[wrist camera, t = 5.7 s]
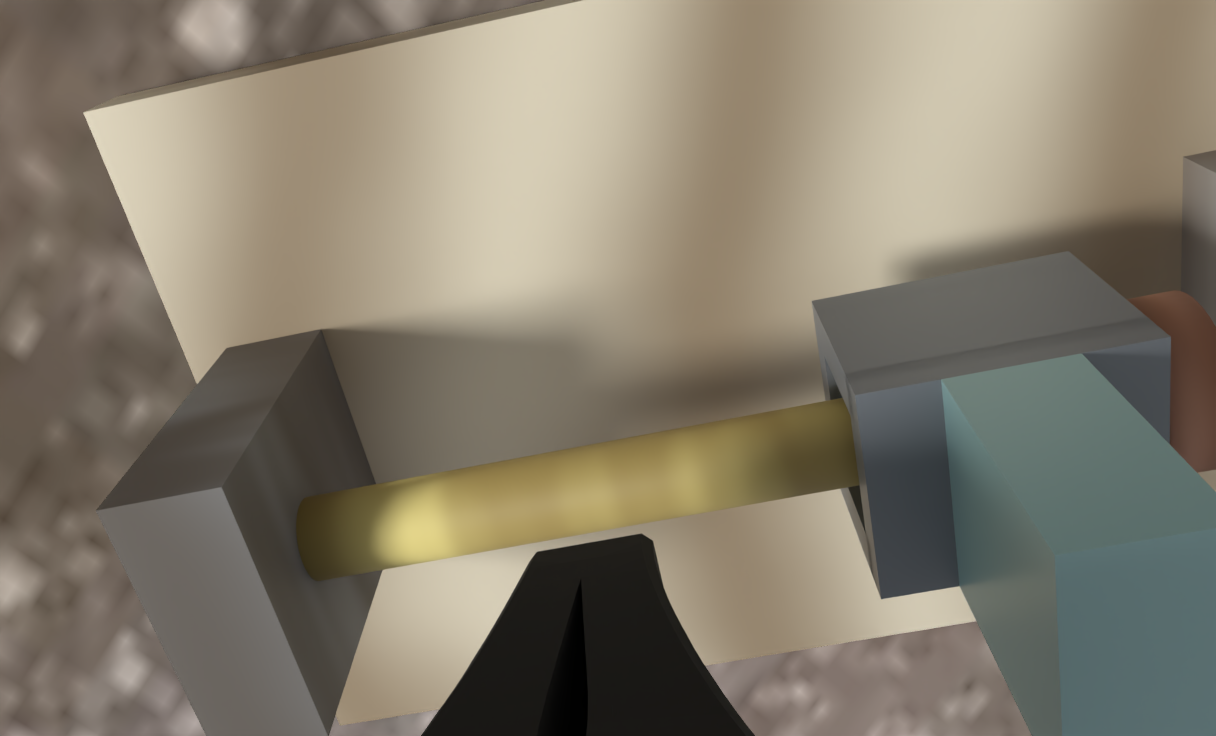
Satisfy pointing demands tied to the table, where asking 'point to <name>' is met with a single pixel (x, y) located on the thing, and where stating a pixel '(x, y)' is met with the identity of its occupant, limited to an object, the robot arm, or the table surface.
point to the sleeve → (1035, 486)
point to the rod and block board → (602, 309)
